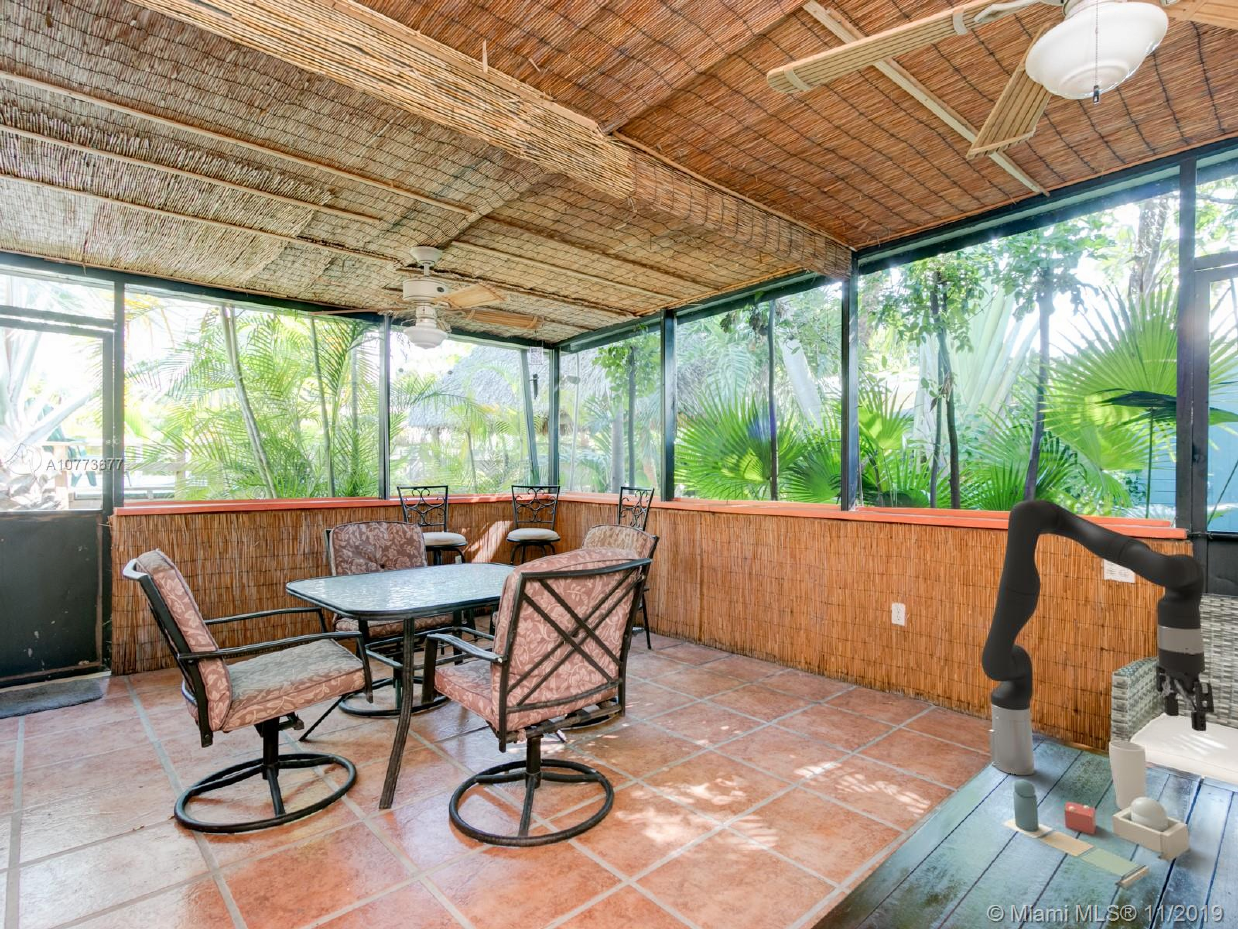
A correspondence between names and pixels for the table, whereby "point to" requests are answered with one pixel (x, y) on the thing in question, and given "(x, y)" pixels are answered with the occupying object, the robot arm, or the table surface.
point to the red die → (1080, 817)
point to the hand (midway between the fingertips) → (1185, 722)
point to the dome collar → (1153, 835)
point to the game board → (1095, 857)
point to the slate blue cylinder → (1025, 806)
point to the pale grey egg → (1149, 814)
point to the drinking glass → (1127, 771)
